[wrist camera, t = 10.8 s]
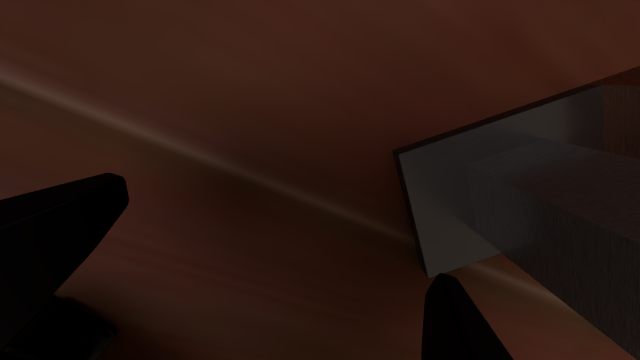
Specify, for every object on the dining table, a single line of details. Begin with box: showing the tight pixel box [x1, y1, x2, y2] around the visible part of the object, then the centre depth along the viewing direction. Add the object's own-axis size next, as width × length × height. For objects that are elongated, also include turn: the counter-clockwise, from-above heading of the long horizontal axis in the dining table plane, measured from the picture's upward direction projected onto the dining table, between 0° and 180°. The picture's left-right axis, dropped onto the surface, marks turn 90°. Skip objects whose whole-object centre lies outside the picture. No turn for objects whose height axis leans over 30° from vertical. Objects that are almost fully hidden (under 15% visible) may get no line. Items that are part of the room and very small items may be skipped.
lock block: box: [466, 138, 640, 360], centre depth 16 cm, size 6×6×13 cm
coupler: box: [393, 66, 640, 278], centre depth 21 cm, size 19×10×5 cm, turn 108°
